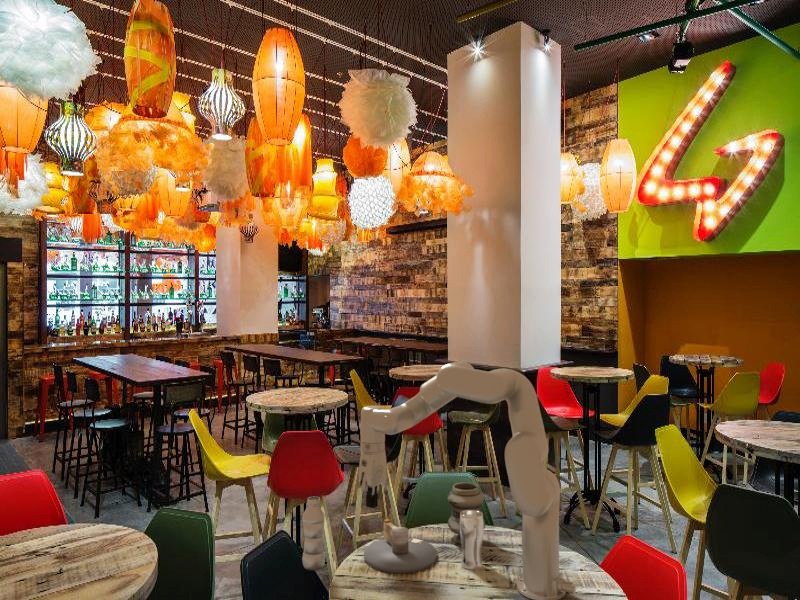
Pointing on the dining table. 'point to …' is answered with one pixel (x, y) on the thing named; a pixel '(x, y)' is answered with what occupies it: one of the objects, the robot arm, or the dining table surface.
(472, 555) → the beer glass
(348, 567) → the dining table surface
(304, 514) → the plastic bottle
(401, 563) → the dial base
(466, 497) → the apothecary jar
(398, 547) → the tan knob handle
